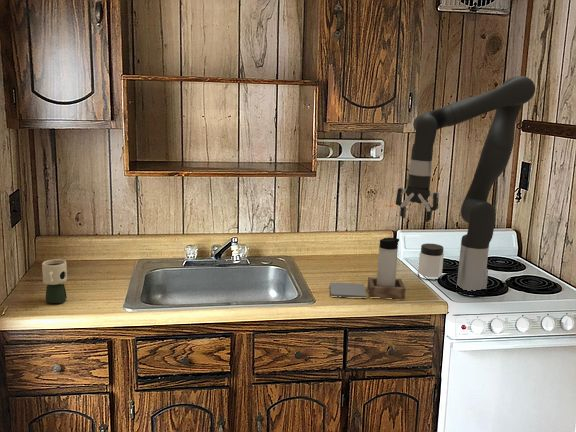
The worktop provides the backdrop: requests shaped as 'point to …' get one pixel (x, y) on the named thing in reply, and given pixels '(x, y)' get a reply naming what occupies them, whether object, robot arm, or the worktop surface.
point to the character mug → (55, 280)
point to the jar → (431, 260)
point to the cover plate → (347, 290)
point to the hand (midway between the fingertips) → (415, 219)
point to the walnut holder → (386, 289)
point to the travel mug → (387, 262)
